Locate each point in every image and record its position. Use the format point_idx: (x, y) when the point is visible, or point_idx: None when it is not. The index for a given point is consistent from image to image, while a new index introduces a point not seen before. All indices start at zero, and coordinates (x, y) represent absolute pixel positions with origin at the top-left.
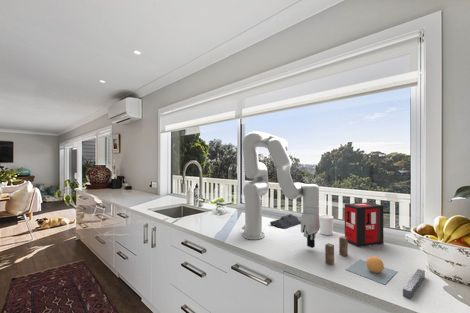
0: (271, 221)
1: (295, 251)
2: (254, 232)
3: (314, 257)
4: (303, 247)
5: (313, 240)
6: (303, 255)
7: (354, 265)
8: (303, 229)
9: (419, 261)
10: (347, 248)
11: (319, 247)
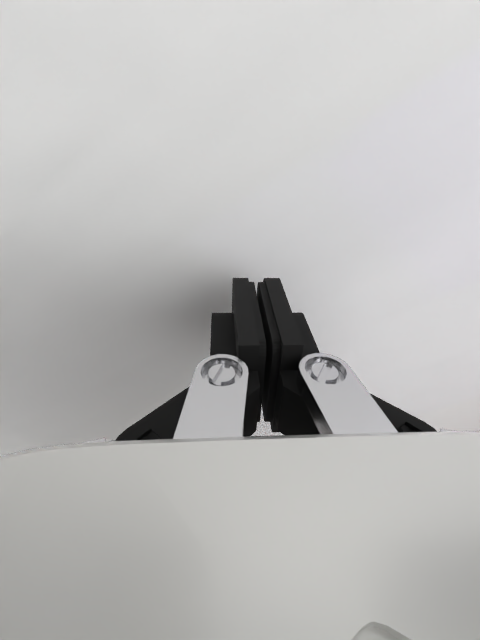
0: None
1: (33, 194)
2: None
3: (118, 395)
4: (246, 192)
5: (263, 413)
6: (50, 321)
7: None
8: (13, 607)
9: None
10: None
11: (378, 320)
